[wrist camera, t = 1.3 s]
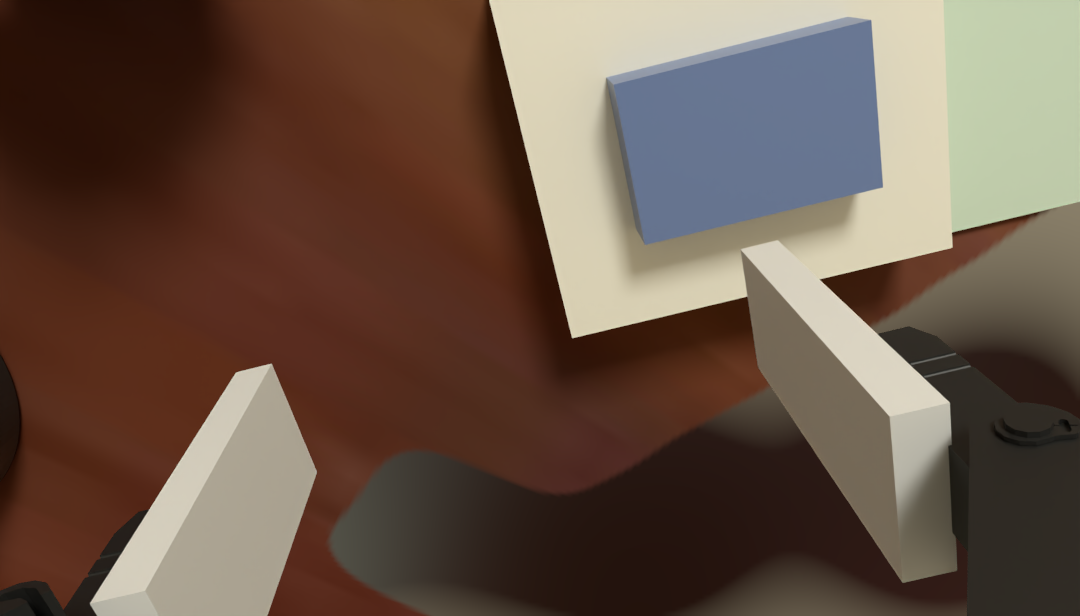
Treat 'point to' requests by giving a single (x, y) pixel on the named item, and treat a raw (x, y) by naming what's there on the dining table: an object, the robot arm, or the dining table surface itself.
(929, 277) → the dining table surface
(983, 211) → the mat
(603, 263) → the cream flat block
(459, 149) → the dining table surface
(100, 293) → the dining table surface
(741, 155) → the blue rectangular block
